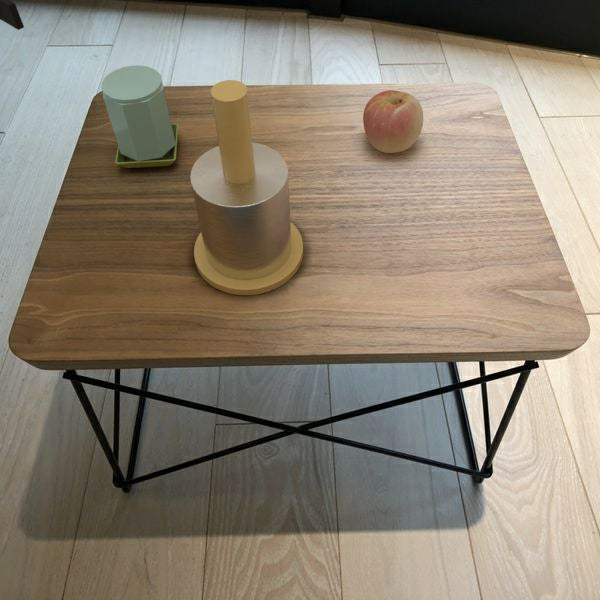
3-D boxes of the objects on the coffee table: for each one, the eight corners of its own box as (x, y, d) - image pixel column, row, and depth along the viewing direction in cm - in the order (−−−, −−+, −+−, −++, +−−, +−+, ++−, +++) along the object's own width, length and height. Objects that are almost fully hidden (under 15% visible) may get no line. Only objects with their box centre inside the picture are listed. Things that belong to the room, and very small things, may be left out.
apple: (363, 163, 90) (367, 117, 83) (359, 126, 95) (362, 80, 89) (422, 162, 90) (431, 116, 83) (415, 124, 95) (422, 78, 89)
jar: (108, 148, 90) (88, 88, 82) (144, 119, 94) (128, 59, 86) (151, 166, 87) (134, 106, 79) (185, 136, 91) (173, 75, 83)
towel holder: (173, 267, 78) (127, 106, 59) (235, 201, 85) (213, 38, 66) (264, 312, 74) (247, 153, 55) (323, 238, 81) (325, 75, 62)
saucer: (181, 133, 95) (178, 122, 93) (178, 171, 89) (175, 160, 88) (124, 137, 94) (120, 126, 93) (118, 175, 89) (114, 163, 87)
